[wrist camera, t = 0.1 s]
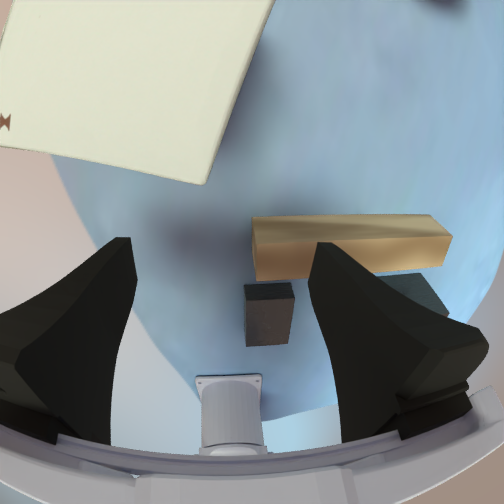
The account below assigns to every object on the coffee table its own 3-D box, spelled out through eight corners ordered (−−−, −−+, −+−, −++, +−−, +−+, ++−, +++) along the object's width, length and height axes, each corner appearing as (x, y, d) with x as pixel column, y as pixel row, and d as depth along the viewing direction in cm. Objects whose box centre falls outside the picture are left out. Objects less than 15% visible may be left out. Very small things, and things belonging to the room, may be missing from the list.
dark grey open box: (402, 314, 30) (424, 354, 25) (357, 321, 29) (376, 365, 24) (420, 272, 26) (449, 312, 21) (372, 277, 26) (398, 322, 21)
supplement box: (217, 123, 17) (204, 202, 7) (112, 99, 15) (-24, 151, 5) (257, 22, 14) (313, -63, 3) (145, -2, 12) (44, -78, 1)
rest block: (284, 328, 29) (287, 343, 27) (244, 330, 28) (245, 346, 27) (290, 282, 25) (294, 298, 24) (244, 284, 25) (245, 301, 23)
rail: (419, 241, 24) (441, 266, 21) (251, 249, 23) (256, 281, 20) (427, 213, 23) (452, 236, 19) (251, 215, 22) (256, 243, 18)
